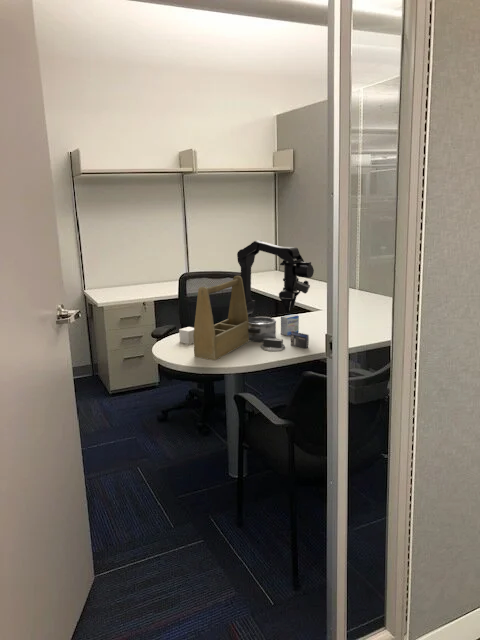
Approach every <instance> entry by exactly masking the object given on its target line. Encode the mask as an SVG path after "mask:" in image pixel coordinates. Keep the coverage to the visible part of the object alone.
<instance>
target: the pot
mask: <svg viewBox="0 0 480 640" xmlns="http://www.w3.org/2000/svg"><path fill="white" fill-rule="evenodd" d="M248 321H249V341H250V342H255V343H257V342H258V343H263V339H265V338H273V339H277V338H276V336H277V334H276V333H277V332H276V331H277V328H276V327H277V325H276V324H277V320H276V319H275V318H272V317H269V316H253V317H252V316H251V317H249V318H248Z"/></svg>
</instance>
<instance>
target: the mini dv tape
mask: <svg viewBox="0 0 480 640" xmlns="http://www.w3.org/2000/svg"><path fill="white" fill-rule="evenodd" d="M309 336H310V335H309V334H307V333H301V332H298V333H297V332H291V335H290V346H293V347H295V348H296V347H297V348H301V349H305V350H306V349H309V339H310V337H309Z"/></svg>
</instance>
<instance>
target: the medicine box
mask: <svg viewBox="0 0 480 640" xmlns="http://www.w3.org/2000/svg"><path fill="white" fill-rule="evenodd" d="M299 322H300V317H299V315H298V314H287V315H284V316H281V317H280V335H283V336H291V332H297V333H300V332H299V329H300V327H299V325H300V323H299Z"/></svg>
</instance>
